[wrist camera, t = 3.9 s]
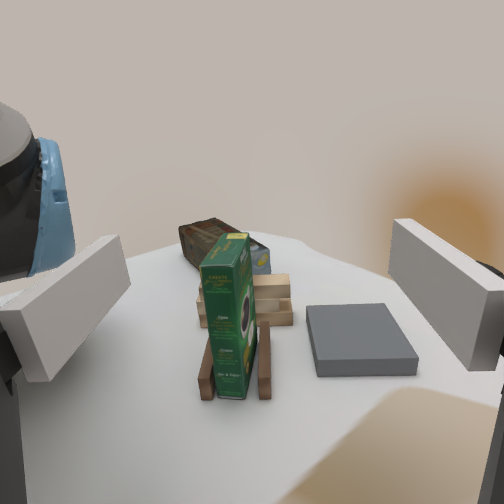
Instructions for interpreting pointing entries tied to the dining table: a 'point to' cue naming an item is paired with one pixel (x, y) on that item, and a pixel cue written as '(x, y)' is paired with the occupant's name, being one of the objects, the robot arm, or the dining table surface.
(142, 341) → the dining table surface
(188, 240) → the beverage carton
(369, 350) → the stand pad
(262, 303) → the offcut stack
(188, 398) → the dining table surface
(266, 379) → the walnut rack
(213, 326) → the coffee box
